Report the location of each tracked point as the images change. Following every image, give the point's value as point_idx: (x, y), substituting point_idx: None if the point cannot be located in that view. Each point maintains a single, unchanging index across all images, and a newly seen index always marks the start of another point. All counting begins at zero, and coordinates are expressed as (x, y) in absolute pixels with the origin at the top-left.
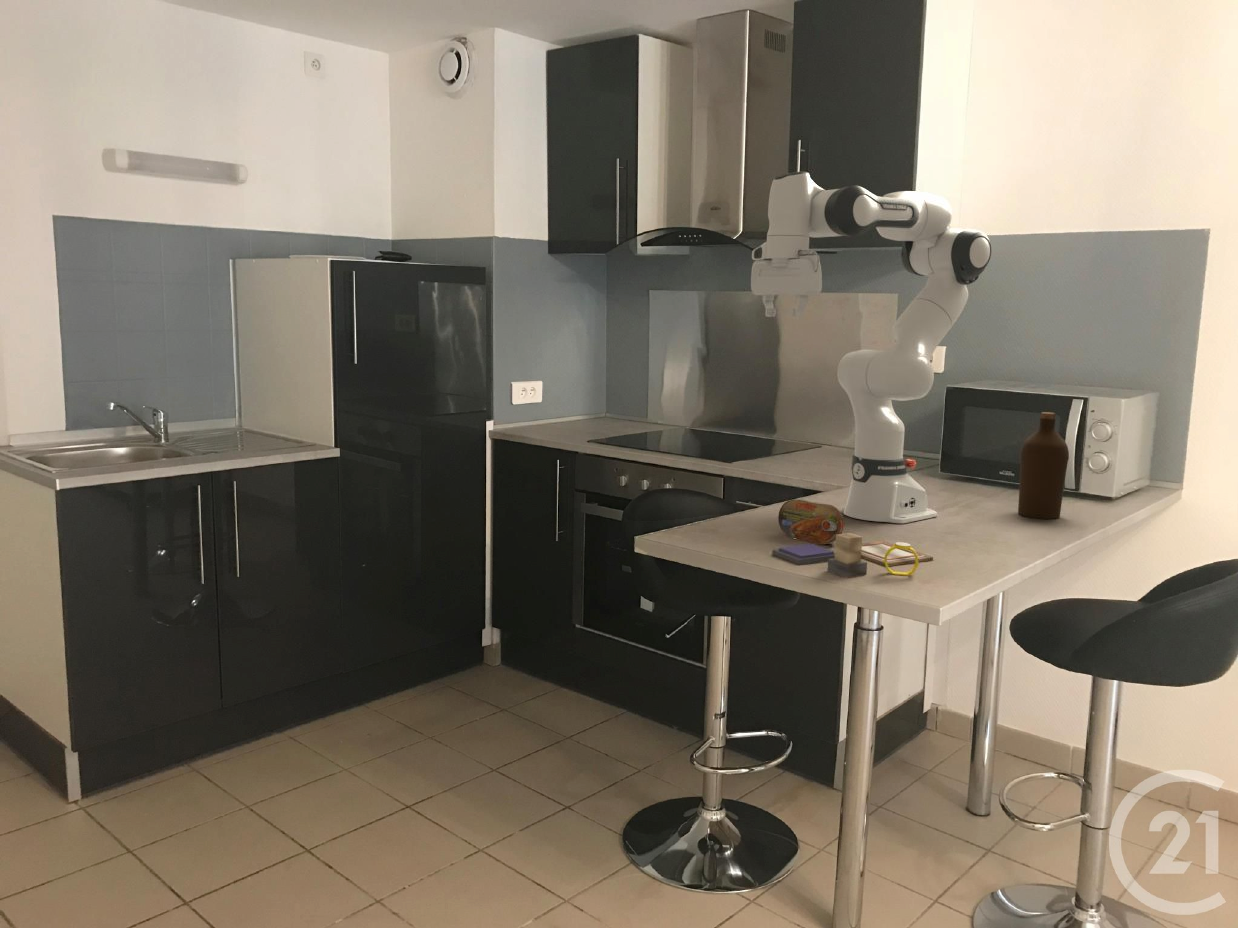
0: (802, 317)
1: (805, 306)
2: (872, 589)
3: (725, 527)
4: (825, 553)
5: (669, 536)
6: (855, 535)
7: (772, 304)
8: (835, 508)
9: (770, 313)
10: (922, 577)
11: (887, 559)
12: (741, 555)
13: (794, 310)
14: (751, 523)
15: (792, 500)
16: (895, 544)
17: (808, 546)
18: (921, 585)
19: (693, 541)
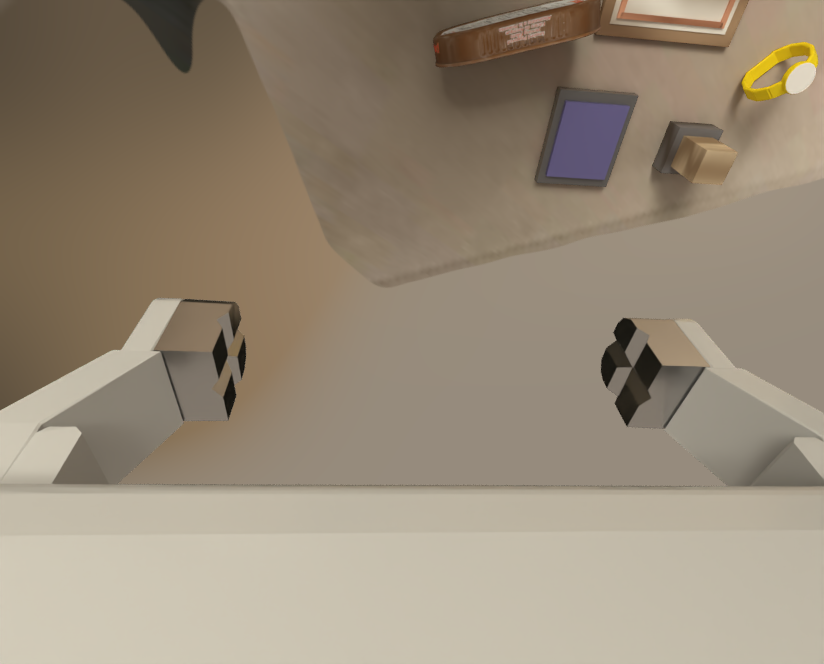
0: (684, 321)
1: (781, 391)
2: (749, 178)
3: (333, 120)
4: (622, 126)
5: (355, 251)
6: (723, 156)
7: (111, 394)
8: (587, 12)
9: (238, 371)
10: None
11: (722, 28)
12: (507, 224)
13: (650, 419)
14: (321, 35)
15: (473, 58)
16: (786, 92)
17: (576, 121)
18: (813, 90)
19: (400, 237)
